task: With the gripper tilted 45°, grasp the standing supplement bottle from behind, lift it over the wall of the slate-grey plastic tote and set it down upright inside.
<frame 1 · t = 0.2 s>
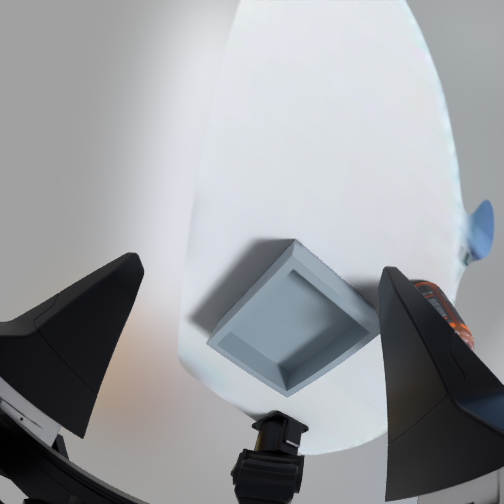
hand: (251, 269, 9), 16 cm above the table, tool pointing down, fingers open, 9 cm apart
supplement bottle: (417, 303, 25), on the table
tote: (294, 317, 28), on the table
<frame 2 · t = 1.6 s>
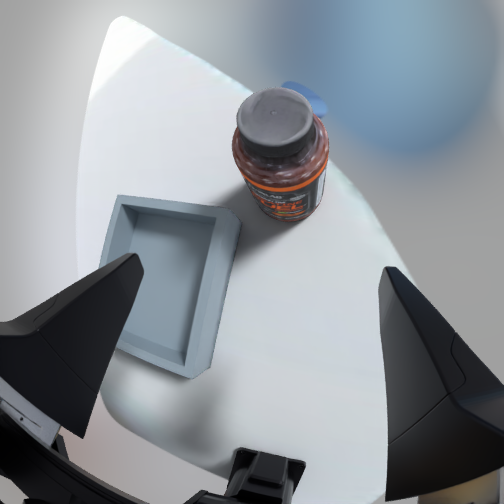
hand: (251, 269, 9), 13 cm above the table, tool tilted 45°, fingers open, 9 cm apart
supplement bottle: (289, 191, 24), on the table
tote: (169, 281, 24), on the table
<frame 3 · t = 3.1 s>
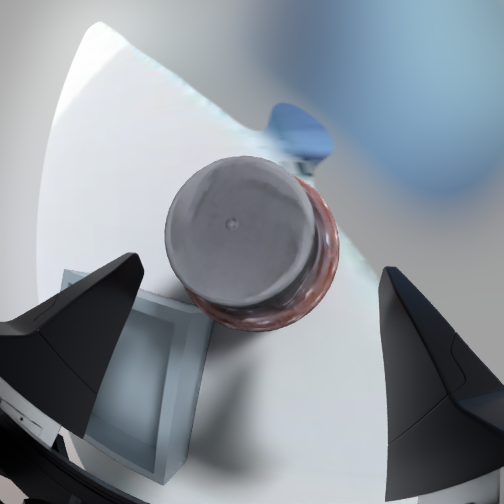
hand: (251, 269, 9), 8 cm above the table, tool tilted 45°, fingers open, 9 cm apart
supplement bottle: (278, 270, 18), on the table
tote: (134, 370, 18), on the table
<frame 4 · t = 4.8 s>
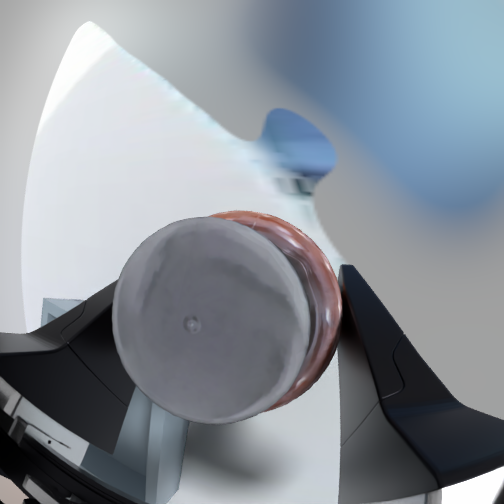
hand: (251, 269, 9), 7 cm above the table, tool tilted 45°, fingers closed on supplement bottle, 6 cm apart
supplement bottle: (272, 304, 16), on the table, touching gripper
tote: (122, 401, 16), on the table
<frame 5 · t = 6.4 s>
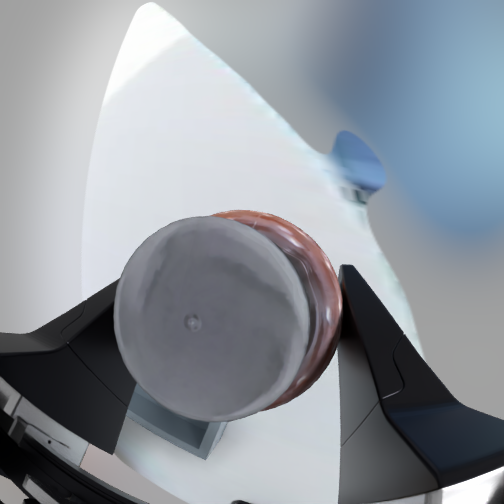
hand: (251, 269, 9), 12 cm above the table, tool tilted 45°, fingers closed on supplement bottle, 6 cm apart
supplement bottle: (274, 304, 16), point 5 cm above the table, touching gripper
tote: (185, 354, 22), on the table
when the fingers open (9 cm above the table, at t = 8.3 s): supplement bottle drops 1 cm, resting on tote.
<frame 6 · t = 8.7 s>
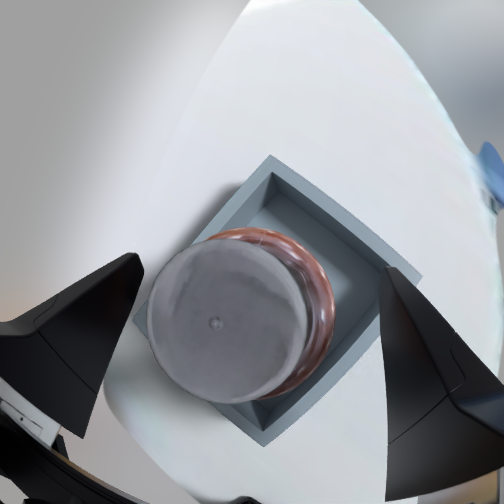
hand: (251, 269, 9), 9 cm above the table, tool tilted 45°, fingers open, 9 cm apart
supplement bottle: (275, 306, 17), point 1 cm above the table, touching tote
tote: (277, 303, 18), on the table
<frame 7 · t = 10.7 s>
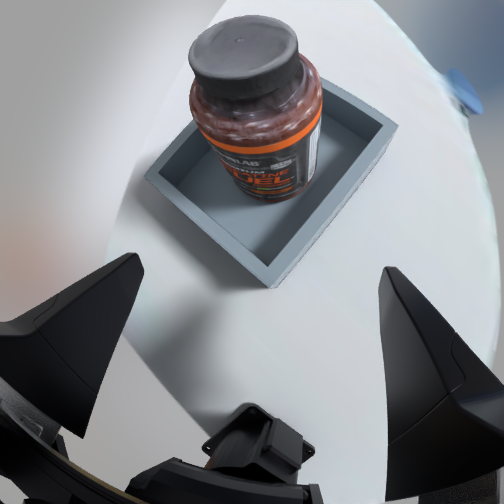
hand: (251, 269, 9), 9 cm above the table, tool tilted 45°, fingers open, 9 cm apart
supplement bottle: (274, 166, 19), point 1 cm above the table, touching tote
tote: (276, 168, 19), on the table
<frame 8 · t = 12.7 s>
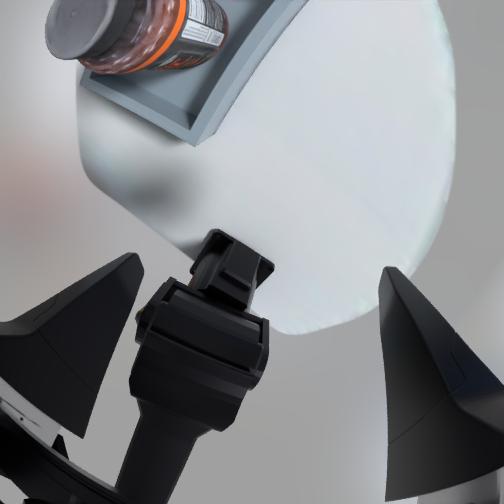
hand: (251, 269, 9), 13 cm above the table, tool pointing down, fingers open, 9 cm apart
supplement bottle: (191, 32, 14), point 1 cm above the table, touching tote
tote: (196, 31, 15), on the table
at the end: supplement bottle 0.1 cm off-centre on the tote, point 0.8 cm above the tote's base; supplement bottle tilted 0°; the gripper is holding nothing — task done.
